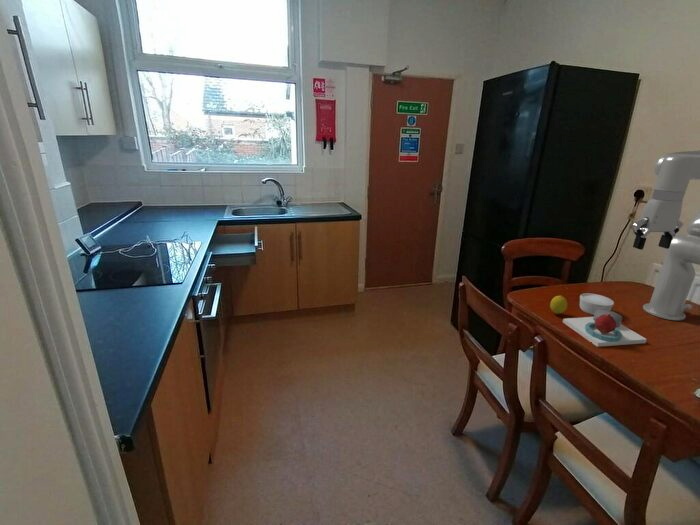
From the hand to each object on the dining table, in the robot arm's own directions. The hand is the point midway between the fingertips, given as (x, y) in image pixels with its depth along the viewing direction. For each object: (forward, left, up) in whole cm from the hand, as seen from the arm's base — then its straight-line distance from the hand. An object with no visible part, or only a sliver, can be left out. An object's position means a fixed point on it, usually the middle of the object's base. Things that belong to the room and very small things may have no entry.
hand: (650, 247), depth 113 cm
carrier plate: (+11, +2, -30) cm, 32 cm away
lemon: (+18, -12, -31) cm, 37 cm away
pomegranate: (+14, +5, -29) cm, 33 cm away
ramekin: (+1, -13, -31) cm, 33 cm away
